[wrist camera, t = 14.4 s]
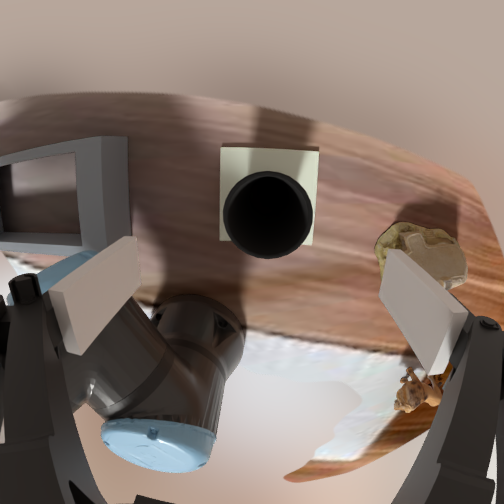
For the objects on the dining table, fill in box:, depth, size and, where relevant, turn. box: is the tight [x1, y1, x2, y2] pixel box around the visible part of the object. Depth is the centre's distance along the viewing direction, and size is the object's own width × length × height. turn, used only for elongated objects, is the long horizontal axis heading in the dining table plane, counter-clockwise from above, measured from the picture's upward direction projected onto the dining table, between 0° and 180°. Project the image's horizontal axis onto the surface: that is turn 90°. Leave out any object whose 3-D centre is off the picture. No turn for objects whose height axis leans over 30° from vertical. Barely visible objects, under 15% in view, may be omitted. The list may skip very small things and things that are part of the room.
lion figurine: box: [394, 367, 442, 413], centre depth 41 cm, size 15×5×9 cm, turn 74°
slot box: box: [0, 136, 132, 256], centre depth 35 cm, size 15×32×7 cm, turn 88°
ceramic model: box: [375, 222, 468, 290], centre depth 33 cm, size 14×11×10 cm
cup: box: [223, 171, 313, 259], centre depth 30 cm, size 8×8×12 cm
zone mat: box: [220, 147, 319, 245], centre depth 36 cm, size 12×12×1 cm
